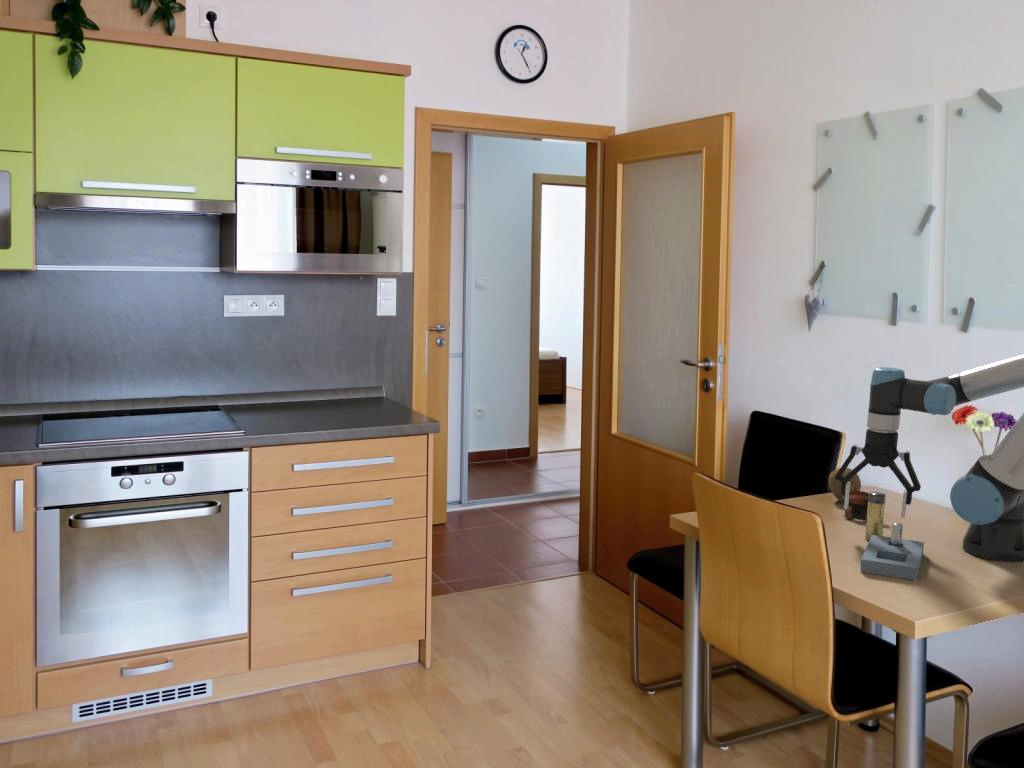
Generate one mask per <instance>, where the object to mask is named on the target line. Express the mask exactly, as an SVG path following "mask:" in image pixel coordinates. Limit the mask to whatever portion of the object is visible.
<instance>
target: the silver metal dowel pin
mask: <svg viewBox="0 0 1024 768" xmlns="http://www.w3.org/2000/svg"><path fill="white" fill-rule="evenodd" d="M903 526H904V524H903V523H900V522H892V523H891V532H890V537H891V543H890V545H892V546H898V547H901V540H902V539H903Z"/></svg>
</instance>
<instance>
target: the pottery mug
mask: <svg viewBox="0 0 1024 768" xmlns="http://www.w3.org/2000/svg"><path fill="white" fill-rule="evenodd" d="M868 497H869V492H866V491H861V490H860V491H850V494H849V504H848V507H850V508H851V509H850V510H845V511H844V516H845V517H844V518H845V520H854V519H855V520H858V521H864V522H867V510H868ZM844 502H845V495H843V498H842V499H841V501H840V500H839V504H840V505H842V504H844Z"/></svg>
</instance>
